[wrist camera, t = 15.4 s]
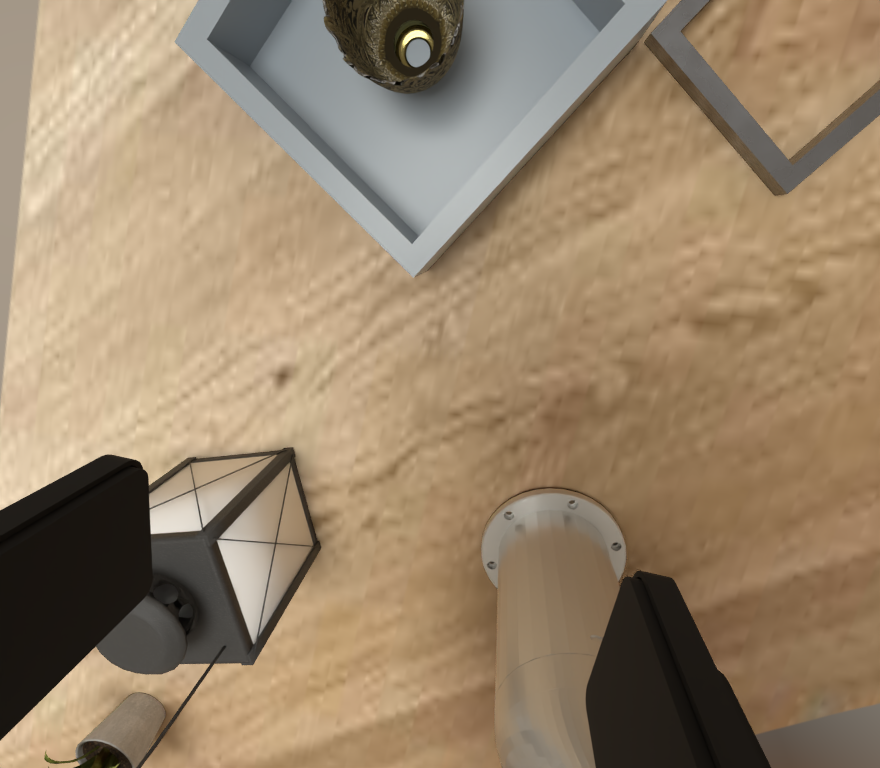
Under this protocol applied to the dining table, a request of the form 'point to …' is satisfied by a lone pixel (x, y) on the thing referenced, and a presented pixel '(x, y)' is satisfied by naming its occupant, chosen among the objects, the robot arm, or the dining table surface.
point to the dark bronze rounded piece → (396, 38)
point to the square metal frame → (737, 119)
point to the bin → (415, 103)
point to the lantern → (217, 565)
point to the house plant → (121, 735)
